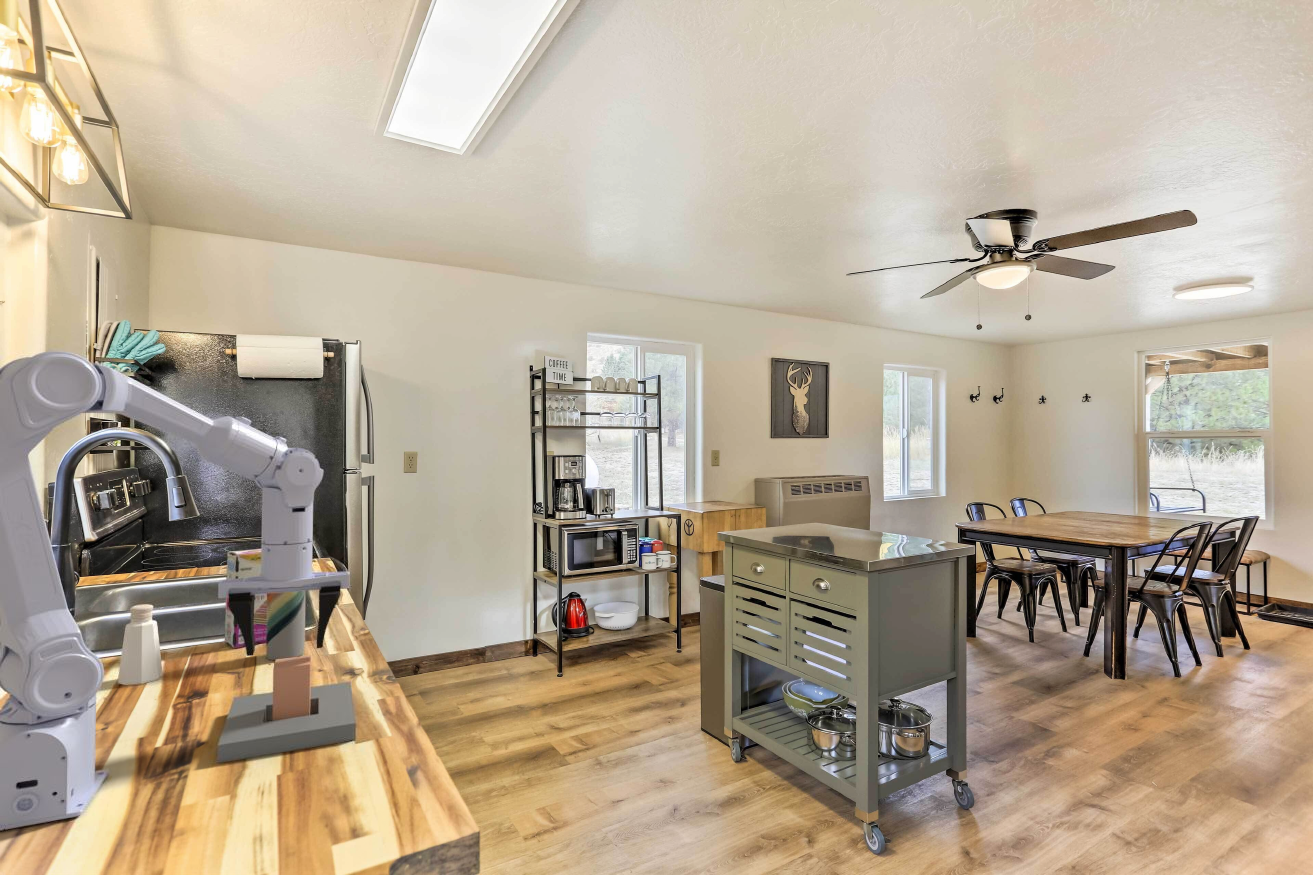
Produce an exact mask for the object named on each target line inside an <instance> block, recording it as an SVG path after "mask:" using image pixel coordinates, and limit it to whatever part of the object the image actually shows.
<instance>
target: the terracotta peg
mask: <svg viewBox="0 0 1313 875" xmlns="http://www.w3.org/2000/svg"><path fill="white" fill-rule="evenodd" d="M311 667H312V655H301V656H299V657H293V658H284V659H276V660H274V664H273V668H272V673H273V675H272V692H273V720H272V721H275V720H282V719H289V718H295V717H302V716H308V715H311V714H310V690H311V687H312V685H311V681H312V678H311V677H312V674H311V672H312V671H311V670H312V668H311Z"/></svg>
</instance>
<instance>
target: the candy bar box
mask: <svg viewBox="0 0 1313 875" xmlns="http://www.w3.org/2000/svg"><path fill="white" fill-rule="evenodd" d="M226 552H227V551H226ZM255 576H261V548H256V549H245V550H235V551H234V550H233V551H228V552H227V554H226V574H225V577H226V578H225V580H228V579H238V578H247V577H255ZM228 602H229V597H228V598H225V612H224V613H225V614H224V616H225V617H224V644H225V645H227V646H229V647H230V648H232V649H238V648H243V647H245V643H244V639H243V636H242V633H241V630H240V628H239V626H238V623H237V621H236V619H235V618H234V616H233V614H232V612H231V611H230V609H229V607H228ZM266 628H267V594H257V595H255V602H254V636H255V645H258V644H263V643H266Z"/></svg>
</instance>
